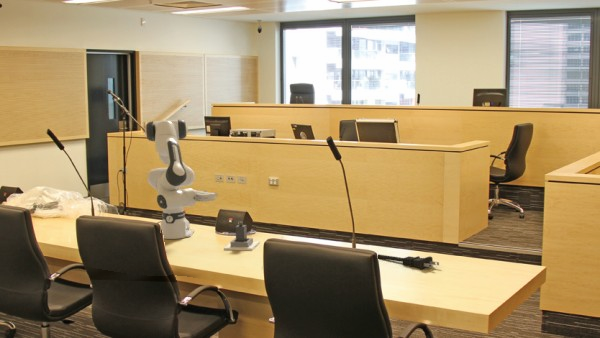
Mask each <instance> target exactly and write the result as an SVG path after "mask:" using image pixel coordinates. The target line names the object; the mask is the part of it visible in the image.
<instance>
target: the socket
mask: <svg viewBox="0 0 600 338" xmlns="http://www.w3.org/2000/svg"><path fill="white" fill-rule="evenodd" d="M260 243H261V242H260V241H254V238H253V237H247V242H236V237H235V238H234V239H232V240H230V242H229V243H228V244H227V245H225V246H224V247H223V250H224V251H253V250H254V249H255V248H257V247H258V246H259V245H260Z"/></svg>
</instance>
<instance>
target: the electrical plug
mask: <svg viewBox="0 0 600 338" xmlns="http://www.w3.org/2000/svg"><path fill="white" fill-rule="evenodd" d="M377 259H382V260H388V261H395V262H401V263H402V265H404V266H409V267H410V268H413V267H414V268H419V270H421V271H423V270H426V269H429V268H431V269H432V268H434V266H440V262H439V261H434V260H433V257H432V256H430V255H429V256H426V257H420V256H419V255H418V256H405V257H398V256H394V255H393V256H392V255H386V254H378V258H377Z"/></svg>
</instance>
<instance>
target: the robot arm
mask: <svg viewBox="0 0 600 338" xmlns="http://www.w3.org/2000/svg"><path fill="white" fill-rule="evenodd" d="M188 131H189V127H188V124H187V123H186V121H185V120H183V119H165V120H164V119H163V120H157V121H152V120H151V121H149V122H147V123H146V125H145V128H144V135H145V137H146V139H147V140H148V141H150V142H154V147H155V149H156V152H157V154H158V157H159V160H160V161H161V162H162V163H163V164H165V165H166V166H168V167H156V168H152V169H151V170H149V172H148V173H147V182H148V184H149V185H150V187H152V188H153V189H154V190H155V191H157V196H156V201H157V205H158V206H159V208H161V209H162V215H161V217H162V220H161V221H160V229H161V228H162V231H163V235H164V238H163V240H164V239H165V240H178V239H183V238H189V237H192V235H193V234H194V232H195V229H193V228H190V226H191V225H190V221H189V220H188V219H187V218H186V217H185V216H186V215H185V214H186V209H184V208H186V207H193V206H195V204H197V202H201V203H202V202H203V203H206V202H213V201H215V200H216V197H218V196H219V193H218V192H210V191H209V192H208V191H207V190H198V189H194V188H192V187H188V188H184V187H187V186H191V185H193V183H194V182H195V177H196V174H195V172H194V170H193V169H192V168H191V167H189V166H188V165H186V164H185V163H184V161H183V159H182V153H181V152H182V151H181V148H180V143H179V140H183V139H185V138H186V137H187V134H188Z"/></svg>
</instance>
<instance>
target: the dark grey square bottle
mask: <svg viewBox="0 0 600 338" xmlns="http://www.w3.org/2000/svg"><path fill="white" fill-rule="evenodd" d="M247 230H248V229H247V224H243V221H238V225H236V226H235V238H236V242H247V238H248V235H247V233H248V232H247Z"/></svg>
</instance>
